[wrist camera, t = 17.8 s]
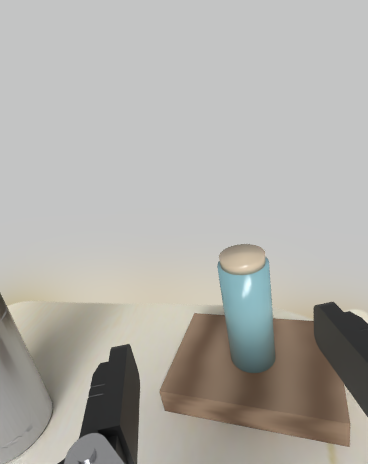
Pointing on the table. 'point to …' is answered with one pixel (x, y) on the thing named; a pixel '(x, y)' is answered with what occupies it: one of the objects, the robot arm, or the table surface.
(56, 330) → the table surface
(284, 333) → the stand
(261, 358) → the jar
